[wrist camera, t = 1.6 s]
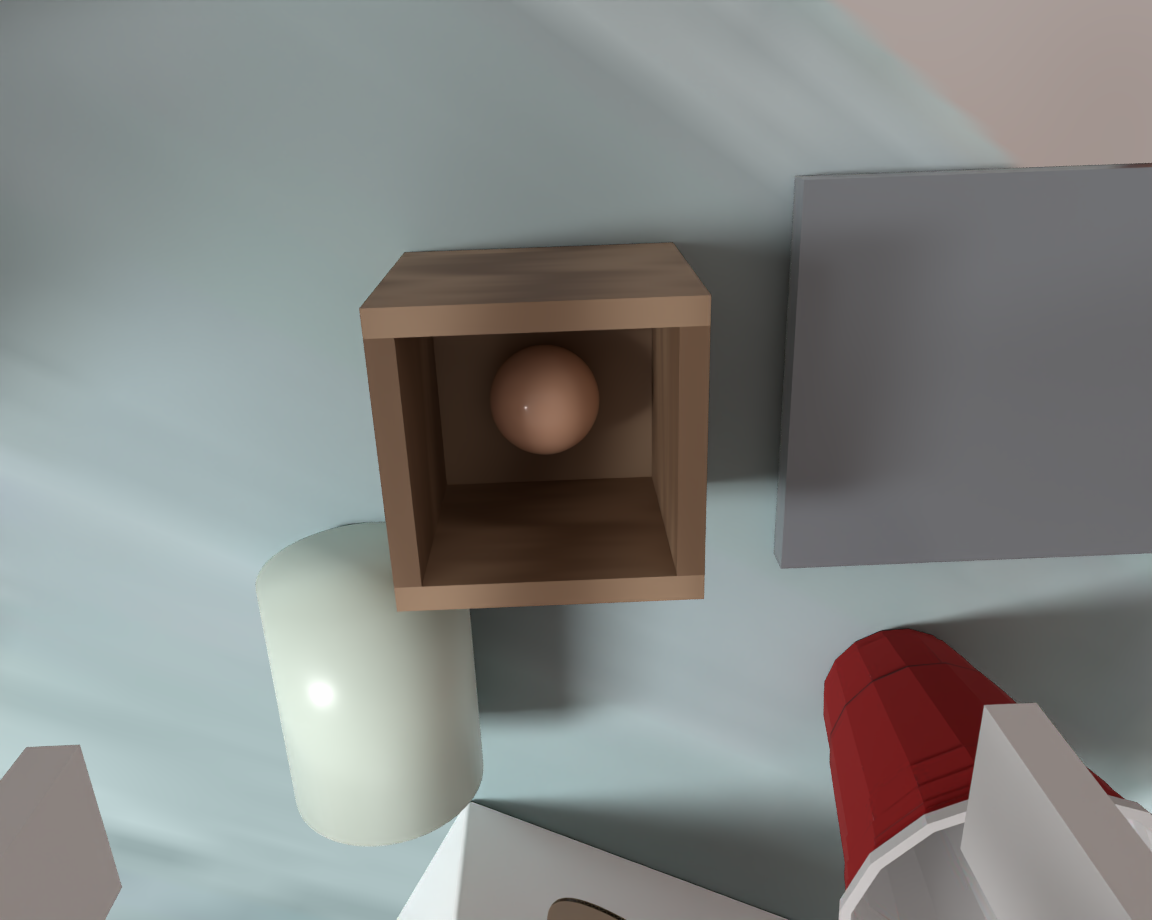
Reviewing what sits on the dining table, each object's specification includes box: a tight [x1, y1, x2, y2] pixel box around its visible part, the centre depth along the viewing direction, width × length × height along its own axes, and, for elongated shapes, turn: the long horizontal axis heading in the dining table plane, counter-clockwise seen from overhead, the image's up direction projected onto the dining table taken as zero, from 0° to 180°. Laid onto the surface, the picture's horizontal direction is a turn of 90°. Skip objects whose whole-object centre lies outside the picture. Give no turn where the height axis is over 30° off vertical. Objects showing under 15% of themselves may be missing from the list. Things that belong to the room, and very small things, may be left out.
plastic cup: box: [824, 629, 1152, 920], centre depth 33 cm, size 11×11×12 cm
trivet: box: [774, 163, 1152, 569], centre depth 33 cm, size 14×14×1 cm
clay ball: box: [490, 345, 599, 455], centre depth 30 cm, size 4×4×4 cm
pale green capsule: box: [255, 522, 483, 846], centre depth 34 cm, size 9×7×7 cm
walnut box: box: [359, 242, 711, 612], centre depth 29 cm, size 9×9×8 cm
